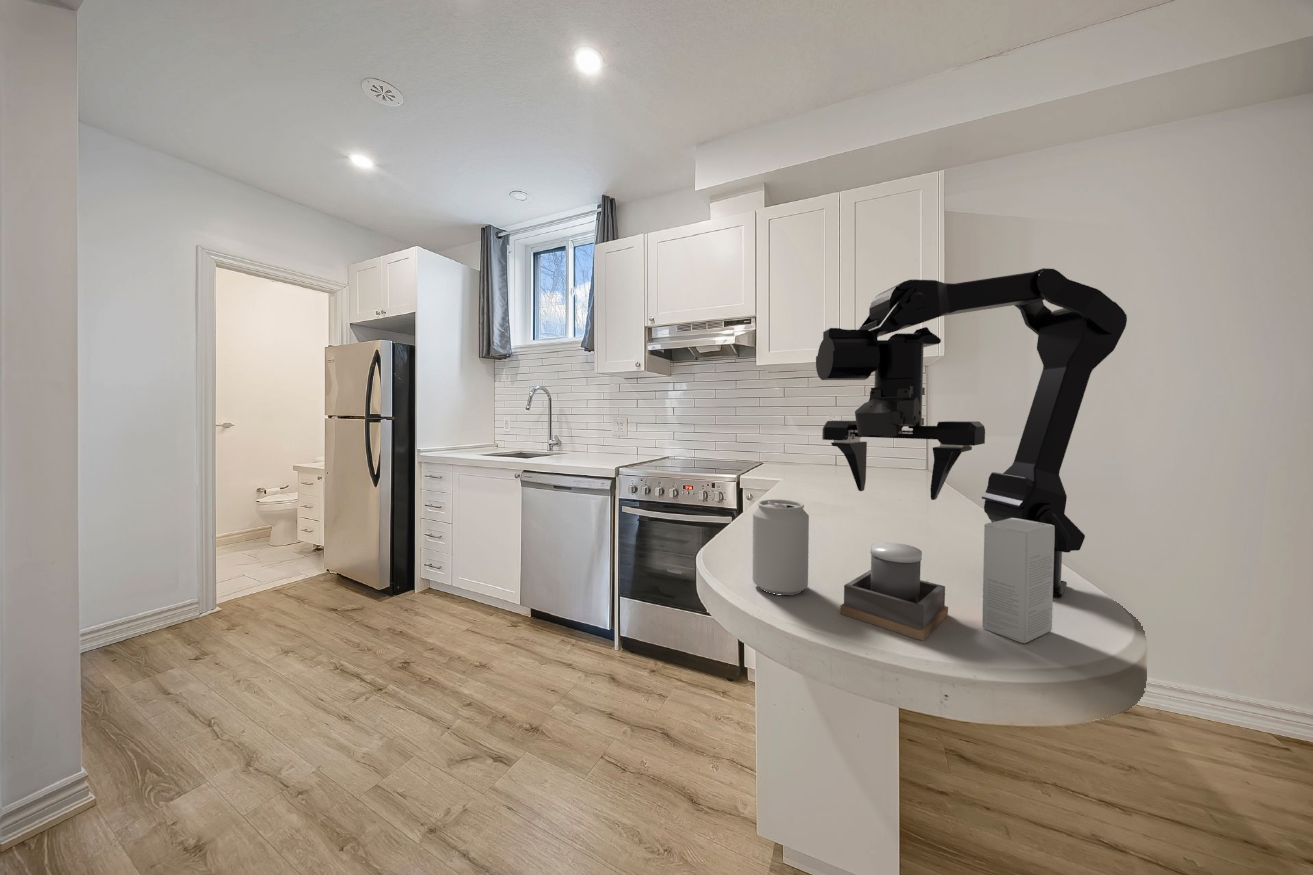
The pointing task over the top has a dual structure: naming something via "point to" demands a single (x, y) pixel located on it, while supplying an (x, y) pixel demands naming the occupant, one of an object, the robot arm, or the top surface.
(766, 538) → the can
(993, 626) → the skincare box
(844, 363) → the robot arm
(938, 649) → the top surface
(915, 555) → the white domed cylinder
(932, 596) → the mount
